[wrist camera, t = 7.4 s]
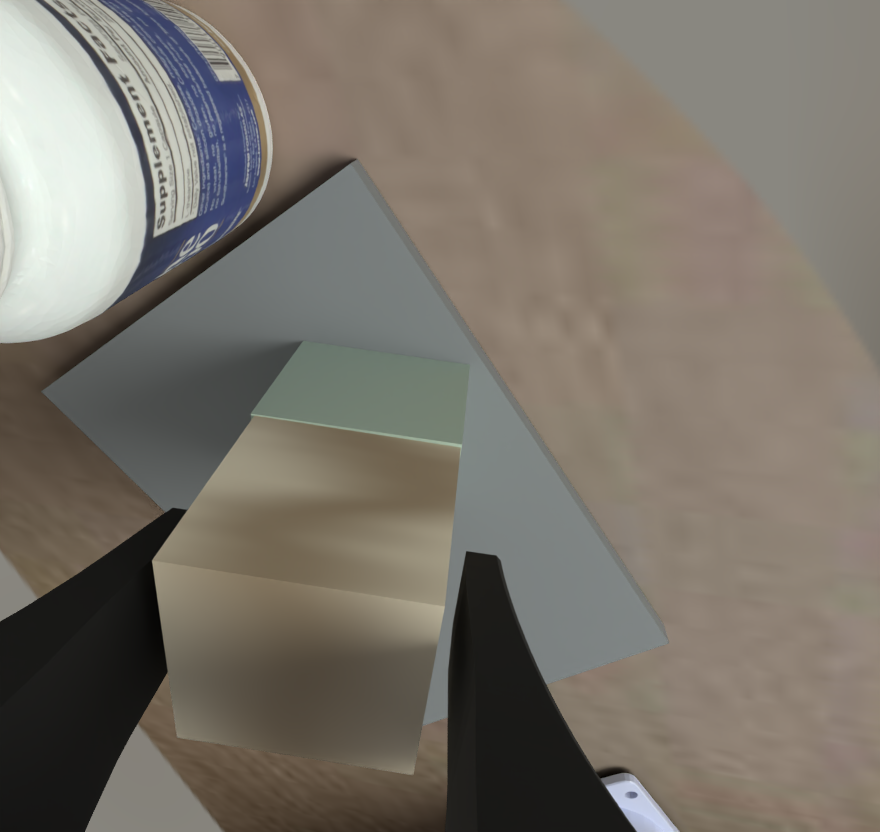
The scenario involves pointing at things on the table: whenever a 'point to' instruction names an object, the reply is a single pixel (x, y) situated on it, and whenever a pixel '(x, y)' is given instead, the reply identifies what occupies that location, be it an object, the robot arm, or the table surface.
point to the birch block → (310, 594)
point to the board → (377, 329)
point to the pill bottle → (116, 153)
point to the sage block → (370, 393)
